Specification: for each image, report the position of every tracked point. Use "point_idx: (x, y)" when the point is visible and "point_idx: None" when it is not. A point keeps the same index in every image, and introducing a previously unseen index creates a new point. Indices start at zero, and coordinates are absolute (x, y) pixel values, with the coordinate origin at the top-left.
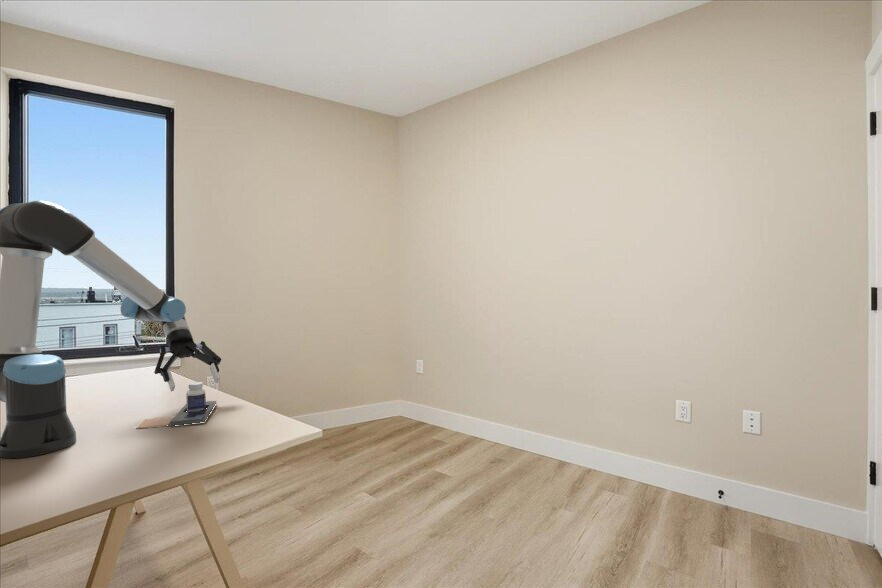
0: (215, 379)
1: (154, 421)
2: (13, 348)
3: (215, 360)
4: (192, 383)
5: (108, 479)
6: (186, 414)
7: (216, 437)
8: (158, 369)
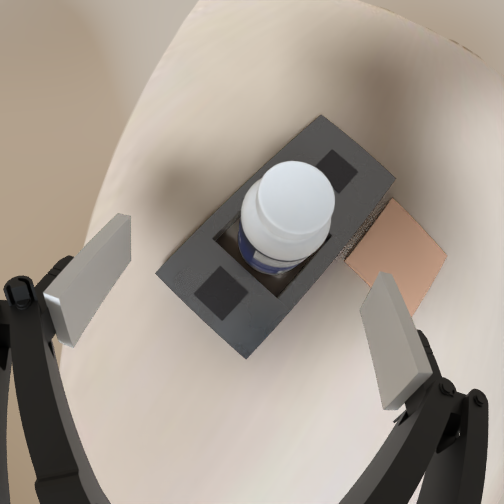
0: (124, 251)
1: (403, 269)
2: None
3: (20, 284)
4: (307, 213)
5: (481, 83)
6: (336, 198)
7: (343, 48)
8: (473, 390)
